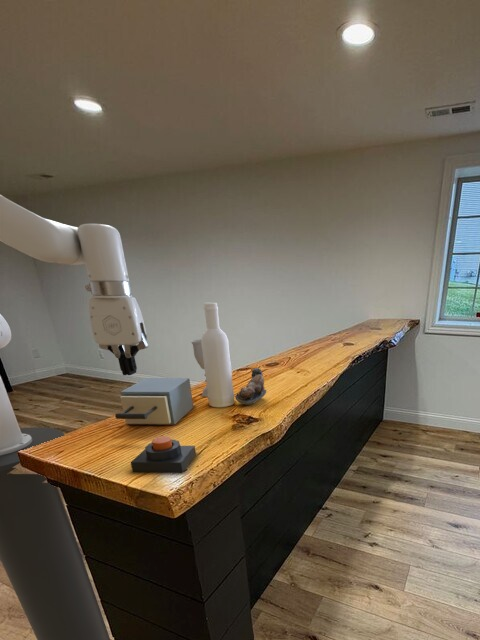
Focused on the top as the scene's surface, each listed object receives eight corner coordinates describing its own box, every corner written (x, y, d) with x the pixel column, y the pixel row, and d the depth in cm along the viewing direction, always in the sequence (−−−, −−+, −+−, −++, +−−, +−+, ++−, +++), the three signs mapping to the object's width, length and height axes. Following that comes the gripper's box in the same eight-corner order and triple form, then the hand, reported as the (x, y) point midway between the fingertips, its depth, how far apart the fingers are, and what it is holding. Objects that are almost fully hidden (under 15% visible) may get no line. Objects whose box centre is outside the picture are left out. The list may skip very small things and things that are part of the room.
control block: (132, 472, 69) (128, 454, 68) (150, 454, 77) (147, 437, 75) (182, 472, 69) (179, 454, 68) (196, 454, 77) (193, 438, 75)
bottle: (230, 398, 115) (220, 302, 103) (238, 405, 109) (228, 303, 97) (206, 402, 111) (192, 302, 99) (212, 409, 105) (199, 303, 93)
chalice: (220, 391, 123) (214, 339, 116) (220, 396, 117) (213, 342, 110) (199, 392, 121) (191, 339, 114) (197, 397, 115) (189, 342, 108)
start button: (150, 451, 70) (148, 443, 69) (158, 443, 73) (156, 436, 73) (168, 451, 70) (166, 443, 69) (175, 443, 73) (173, 436, 73)
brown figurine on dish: (251, 408, 106) (248, 376, 102) (231, 406, 108) (228, 374, 104) (270, 397, 116) (268, 368, 112) (251, 395, 118) (249, 366, 114)
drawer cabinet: (174, 424, 93) (169, 392, 89) (127, 424, 93) (120, 391, 89) (193, 407, 106) (189, 378, 103) (152, 406, 106) (146, 377, 103)
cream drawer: (157, 434, 85) (151, 406, 82) (110, 434, 84) (103, 406, 82) (187, 407, 104) (184, 383, 101) (149, 407, 103) (145, 383, 101)
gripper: (65, 290, 72) (88, 377, 79) (137, 291, 72) (154, 378, 79) (88, 290, 79) (107, 370, 86) (154, 290, 79) (167, 370, 86)
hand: (129, 373), depth 82 cm, fingers closed
